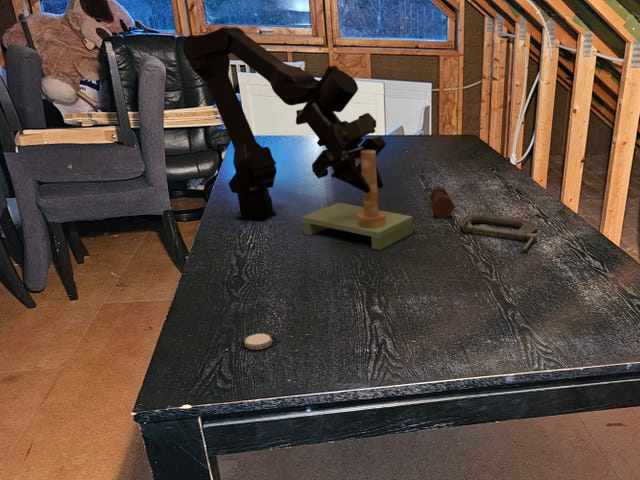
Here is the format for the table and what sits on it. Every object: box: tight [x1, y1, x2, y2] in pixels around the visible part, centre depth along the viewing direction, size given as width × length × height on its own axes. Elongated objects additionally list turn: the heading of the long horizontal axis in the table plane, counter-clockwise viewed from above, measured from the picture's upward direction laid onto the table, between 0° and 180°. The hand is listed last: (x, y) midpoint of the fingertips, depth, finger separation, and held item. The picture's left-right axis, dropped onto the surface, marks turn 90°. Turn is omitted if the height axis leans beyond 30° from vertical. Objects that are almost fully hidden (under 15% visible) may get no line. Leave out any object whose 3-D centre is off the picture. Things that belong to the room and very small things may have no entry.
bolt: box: [428, 186, 456, 219], centre depth 161 cm, size 6×5×15 cm
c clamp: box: [459, 214, 538, 252], centre depth 146 cm, size 20×17×3 cm
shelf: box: [301, 202, 414, 251], centre depth 143 cm, size 20×13×4 cm, turn 63°
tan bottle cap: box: [243, 333, 273, 350], centre depth 99 cm, size 4×4×1 cm
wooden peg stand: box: [357, 150, 386, 228], centre depth 135 cm, size 6×6×15 cm
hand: (375, 189), depth 134 cm, fingers open, 4 cm apart
